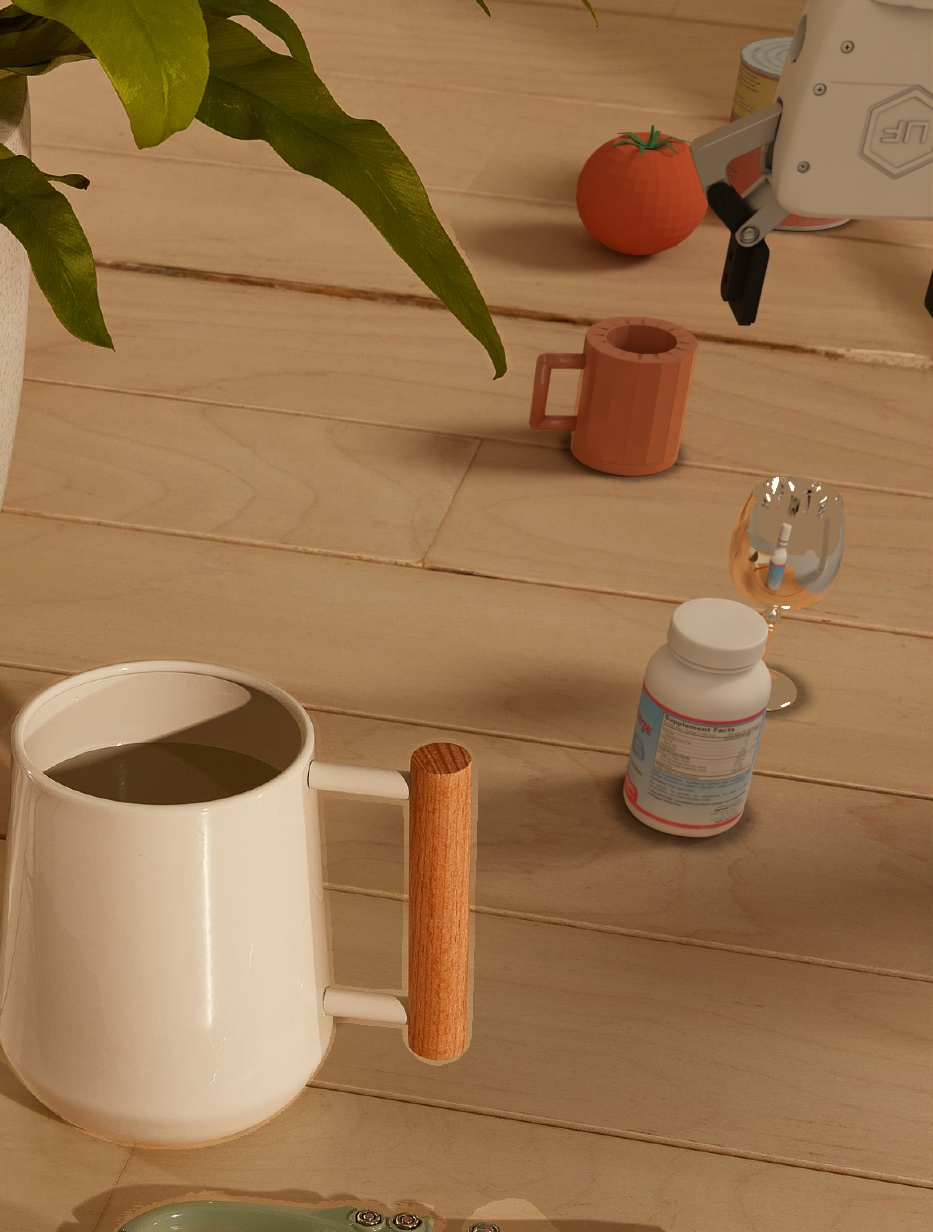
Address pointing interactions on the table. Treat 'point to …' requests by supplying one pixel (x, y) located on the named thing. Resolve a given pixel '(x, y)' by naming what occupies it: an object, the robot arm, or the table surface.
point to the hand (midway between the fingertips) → (839, 316)
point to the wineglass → (787, 554)
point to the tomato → (640, 193)
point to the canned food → (751, 95)
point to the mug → (623, 394)
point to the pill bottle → (700, 720)
